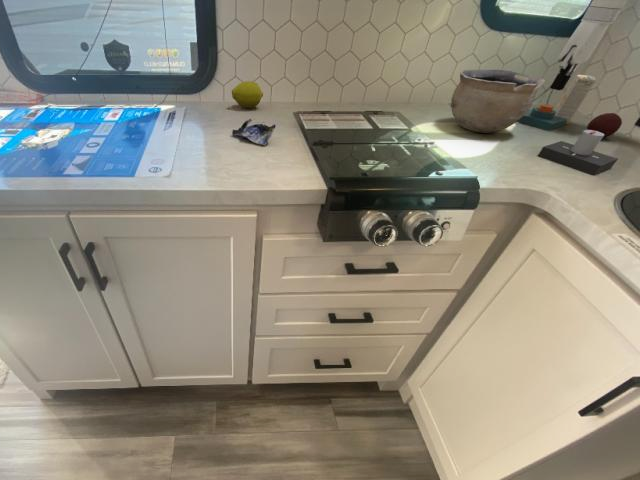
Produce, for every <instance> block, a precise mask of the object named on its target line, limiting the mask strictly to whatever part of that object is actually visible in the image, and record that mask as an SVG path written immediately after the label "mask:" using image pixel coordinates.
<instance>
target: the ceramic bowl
mask: <svg viewBox="0 0 640 480" xmlns="http://www.w3.org/2000/svg"><path fill="white" fill-rule="evenodd" d="M545 83H546V80H545V79H544V78H543V77H536V76H532V75H529V74H526V73H522V72H521V73H519V72H517V71H512V70H505V69H465V70H462V71H461V72H460V73H459V82H458V83H457V85H456V87H455V89H454V91H453V93H452V95H451V100H450V108H451V113H452V116H453V118H454V120H455V121H456V123H457V125H459V126H460V127H462V128H463V129H466V130H468V131H471V132H476V133H482V134H494V133H495V134H496V133H499V132H501V131H504V130H505V129H508V128H509V127H511V126H512V125H514V124H515V123H516V122H518V120H519V119H520V118H521V117H522V116H523V115H524V114H525V113H526V112H527V111H528V110H531V108H532V105H533V103H534V100H535V98H536V95H537V92H538V91H539V90H540V88H542V87H543V85H544V84H545Z"/></svg>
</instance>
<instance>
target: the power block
mask: <svg viewBox="0 0 640 480" xmlns="http://www.w3.org/2000/svg"><path fill="white" fill-rule="evenodd" d="M539 108H540V106H539V107H537V106H536V107H533V108H532V109H531V108H530V109H529V110H528V111H527V112H526V113H525V114H524V115H523V116H522V117H521V118H520V119H519V120H518V121H517V122H518V123H521V124H525V125H528V126H530V127H531V126H532V127H535V128H538V129H541V130H545V131H552V130H555V129H559V128H562V127H564V126H565V125H566V124H565V123H566V121H567V120H568V119H564V118H561V117H557V116H555V114H556V111H555V110H554V109H552V111H551V112H543V111H539V110H538V109H539Z"/></svg>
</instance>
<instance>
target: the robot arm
mask: <svg viewBox="0 0 640 480" xmlns="http://www.w3.org/2000/svg"><path fill="white" fill-rule="evenodd" d="M627 2H628V0H592V1H591V2H590V5H589V7H588V8H587V10H586V11H585V13H584V15H583V17H582V18H581V20H580V23H579V24H578V26H577V27H576V28H575V30H574V32H573V33H572V34H571V36H570V37H569V39H568V41H566V44H565V45H564V46H563V49H562V50H561V51H560V53H559V55H558V57H557V59H556V61H557V62H558V63H560V65H559V67H558V68H559V70H558V72H557V75H556V76H555V78H554V79H553V81H552V83H551V85H550V86H549V88H550V89H552V90H555V91H563V90H564V88H565V87H566V85H567V84H568V82H569V80H570V78H572V75H574V73H575V72H576V70H577V69H578V68H579V67H580V66H581V65H582V64H583V63H586V62H587V61H588V60H589V59H590V58H591V56H592V55H593V53H595V51H596V49H597V47H598V45H599V44H600V42H601V40H602V39H603V37H604V35H605V33H606V31H607V29H608V28H609V26H610V25H613V24H614V23H615V21H616V19H617V18H618V16H619V15H620V13H621V12H622V10H623V8H624V7H625V6H626V4H627Z"/></svg>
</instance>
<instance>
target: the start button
mask: <svg viewBox="0 0 640 480" xmlns="http://www.w3.org/2000/svg"><path fill="white" fill-rule="evenodd" d="M539 107H540V108H539V109H538V110H539V111H543V112H551V111H552V110H554V105H551V104H547V103H546V104H545V103H543V104H540V106H539Z"/></svg>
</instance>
